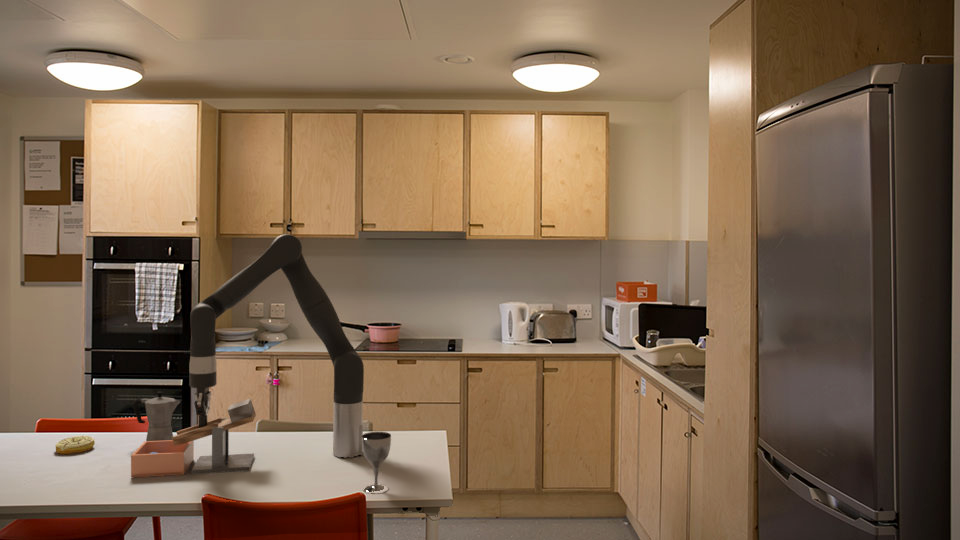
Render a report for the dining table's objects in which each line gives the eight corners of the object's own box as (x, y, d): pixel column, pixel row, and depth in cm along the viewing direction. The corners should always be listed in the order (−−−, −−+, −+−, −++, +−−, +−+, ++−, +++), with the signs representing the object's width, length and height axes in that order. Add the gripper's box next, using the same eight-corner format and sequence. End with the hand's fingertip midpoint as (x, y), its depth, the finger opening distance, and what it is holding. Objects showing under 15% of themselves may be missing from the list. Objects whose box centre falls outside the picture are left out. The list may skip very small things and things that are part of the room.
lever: (256, 414, 206) (250, 398, 205) (253, 421, 198) (247, 404, 198) (180, 439, 201) (174, 422, 201) (174, 446, 193) (168, 429, 193)
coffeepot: (185, 441, 224) (185, 388, 224) (173, 449, 215) (173, 394, 214) (139, 441, 224) (139, 388, 223) (125, 449, 214) (125, 394, 214)
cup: (193, 459, 205) (193, 439, 205) (183, 475, 191) (183, 452, 191) (144, 462, 202) (144, 441, 202) (131, 478, 188) (131, 455, 188)
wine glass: (362, 484, 186) (363, 431, 186) (391, 483, 187) (391, 431, 187) (360, 494, 178) (360, 439, 178) (389, 494, 179) (390, 439, 179)
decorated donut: (51, 450, 213) (51, 438, 213) (89, 443, 221) (89, 432, 221) (59, 457, 206) (59, 445, 206) (98, 450, 213) (98, 439, 213)
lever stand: (254, 457, 209) (254, 416, 208) (249, 470, 196) (249, 427, 195) (200, 460, 205) (200, 418, 205) (191, 474, 192) (191, 429, 192)
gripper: (212, 374, 193) (212, 433, 193) (219, 366, 205) (219, 421, 206) (184, 375, 191) (184, 434, 191) (194, 366, 204) (194, 422, 204)
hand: (203, 427), depth 199 cm, fingers closed
